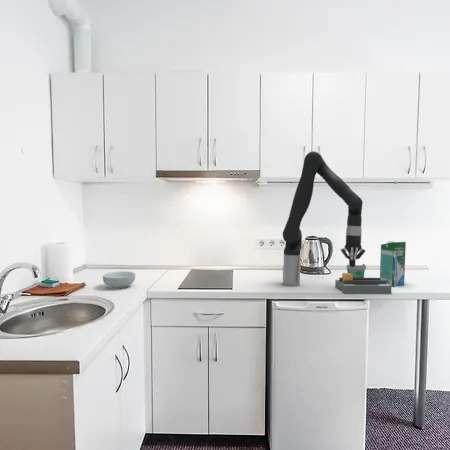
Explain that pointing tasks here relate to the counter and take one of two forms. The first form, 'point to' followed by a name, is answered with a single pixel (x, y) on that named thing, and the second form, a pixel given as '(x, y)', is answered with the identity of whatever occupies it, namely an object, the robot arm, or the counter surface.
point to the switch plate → (363, 286)
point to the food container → (356, 270)
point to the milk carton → (393, 263)
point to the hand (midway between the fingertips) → (352, 266)
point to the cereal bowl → (119, 279)
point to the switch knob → (347, 276)
